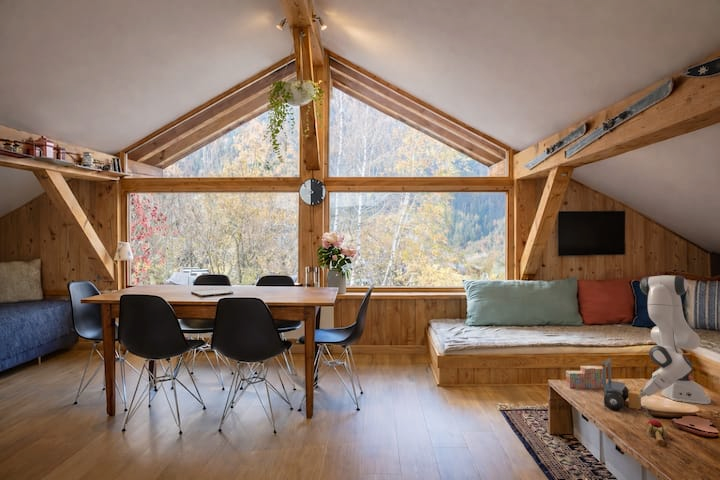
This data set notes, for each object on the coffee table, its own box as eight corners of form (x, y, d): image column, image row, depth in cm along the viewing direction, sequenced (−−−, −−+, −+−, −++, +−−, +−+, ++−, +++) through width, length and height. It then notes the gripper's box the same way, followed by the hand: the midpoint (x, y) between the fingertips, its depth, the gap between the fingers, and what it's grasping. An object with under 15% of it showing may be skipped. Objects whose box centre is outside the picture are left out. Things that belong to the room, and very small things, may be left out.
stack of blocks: (570, 388, 269) (569, 368, 269) (565, 385, 275) (565, 365, 276) (606, 388, 268) (605, 368, 268) (601, 385, 274) (600, 365, 274)
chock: (641, 406, 237) (640, 391, 237) (639, 409, 233) (639, 394, 233) (630, 404, 240) (629, 390, 240) (628, 407, 236) (628, 392, 236)
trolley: (630, 401, 245) (628, 359, 246) (623, 412, 229) (621, 367, 230) (610, 397, 252) (609, 356, 252) (602, 408, 235) (601, 364, 236)
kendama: (673, 450, 190) (665, 428, 206) (670, 436, 189) (662, 416, 206) (652, 450, 193) (646, 429, 209) (649, 437, 193) (643, 416, 209)
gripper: (658, 369, 238) (638, 384, 244) (654, 378, 223) (632, 394, 229) (669, 379, 235) (647, 394, 241) (665, 389, 220) (642, 404, 226)
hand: (640, 394), depth 235 cm, fingers open, 8 cm apart
